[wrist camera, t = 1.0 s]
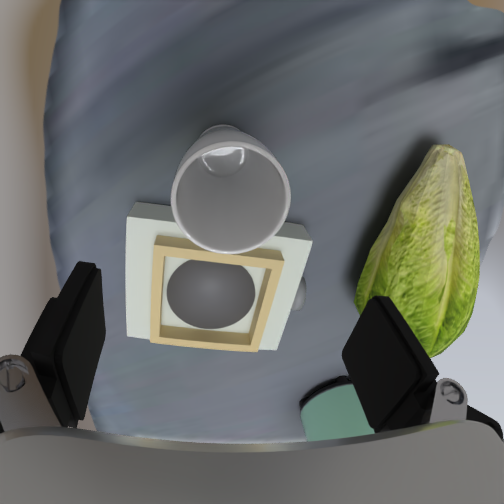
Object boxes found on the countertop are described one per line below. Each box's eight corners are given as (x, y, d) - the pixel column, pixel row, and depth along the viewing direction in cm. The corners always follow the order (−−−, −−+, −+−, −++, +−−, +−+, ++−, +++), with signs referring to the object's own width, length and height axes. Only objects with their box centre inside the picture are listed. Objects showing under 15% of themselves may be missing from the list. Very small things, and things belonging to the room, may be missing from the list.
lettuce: (470, 157, 35) (535, 171, 22) (426, 320, 43) (465, 376, 30) (372, 129, 35) (418, 125, 22) (335, 311, 43) (354, 376, 30)
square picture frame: (135, 201, 32) (122, 225, 27) (312, 226, 36) (330, 252, 30) (132, 314, 39) (124, 348, 33) (279, 329, 42) (288, 362, 37)
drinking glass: (189, 185, 32) (175, 260, 19) (185, 118, 29) (163, 144, 15) (257, 181, 32) (290, 253, 19) (257, 115, 29) (295, 139, 16)
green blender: (382, 392, 54) (449, 546, 24) (327, 426, 58) (372, 577, 27) (333, 353, 46) (415, 570, 16) (266, 397, 50) (308, 599, 19)
